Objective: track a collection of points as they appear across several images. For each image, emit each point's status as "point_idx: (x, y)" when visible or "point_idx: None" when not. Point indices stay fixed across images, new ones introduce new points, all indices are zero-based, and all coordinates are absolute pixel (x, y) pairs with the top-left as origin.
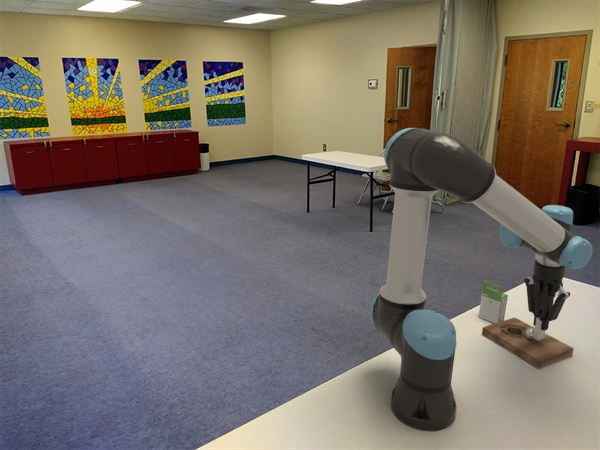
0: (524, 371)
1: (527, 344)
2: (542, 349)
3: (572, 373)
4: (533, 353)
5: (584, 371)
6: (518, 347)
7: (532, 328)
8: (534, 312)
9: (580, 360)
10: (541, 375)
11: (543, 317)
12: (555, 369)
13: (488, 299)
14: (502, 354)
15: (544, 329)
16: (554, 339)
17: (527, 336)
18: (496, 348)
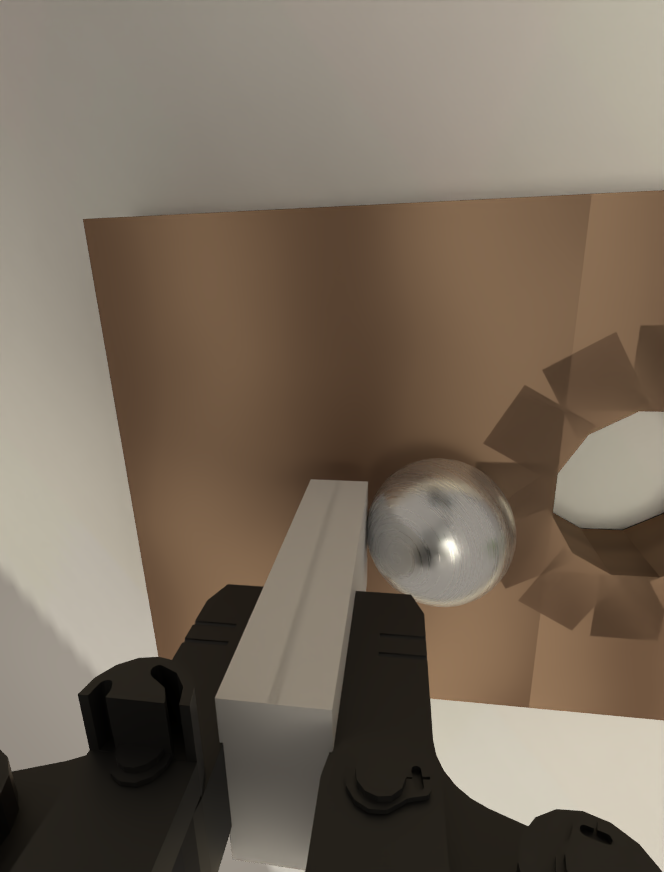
0: (143, 43)
1: (375, 378)
2: (239, 435)
3: (20, 429)
4: (215, 279)
5: (23, 524)
6: (377, 220)
7: (451, 585)
8: (422, 847)
9: (133, 618)
10: (51, 159)
11: (119, 787)
12: (92, 359)
13: None
14: (470, 72)
15: (213, 600)
16: None
17: (436, 458)
18: (595, 107)
